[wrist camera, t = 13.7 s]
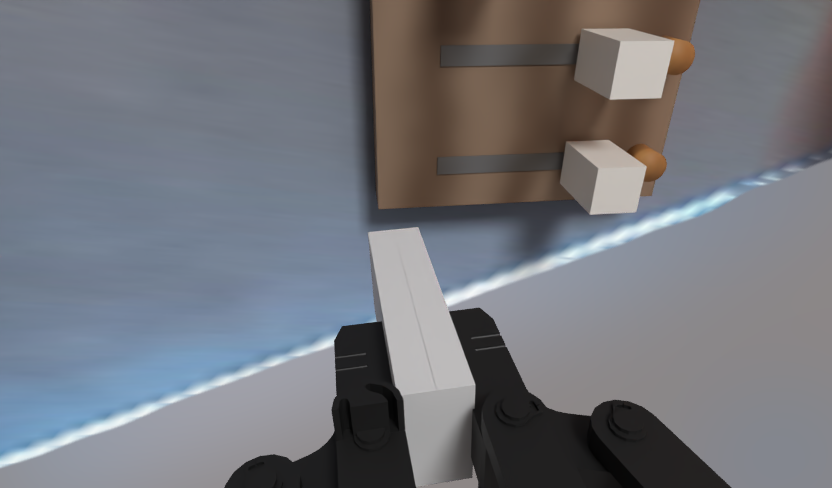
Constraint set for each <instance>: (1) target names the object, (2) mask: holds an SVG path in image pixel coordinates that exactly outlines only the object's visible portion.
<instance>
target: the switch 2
mask: <svg viewBox="0 0 832 488" xmlns="http://www.w3.org/2000/svg"><path fill="white" fill-rule="evenodd" d="M646 168H647V166H645V165H644V164H643V163H641V162H640V161H638V160H637V159H635V158H634V157H633V156H631V155H630V154H628V153H627V152H625V151H624V150H622V149H621V148H620V147H618V146H617V145H615V144H614V143H612V142H611V141H610V140H593V141H566V146H565V152H564V159H563V165H562V172H561V178H560V184H561V185H562V186H563V187H564V188H565V189H566V190H567V191H568V192H569V193H570V194H571V196H572V197H573V198H574V199H575V200H576V201H577V202H578V203H579V204H580V205H581V206H582V207H583V208H584V209H585V210H586V211H587V212H588V213H589V214H590V215H593V214H612V213H631V212H636V210H637V206H638V201H639V197H640V193H641V189H642V185H643V180H644V176H645V172H646Z"/></svg>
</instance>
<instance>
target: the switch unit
mask: <svg viewBox="0 0 832 488" xmlns="http://www.w3.org/2000/svg"><path fill="white" fill-rule="evenodd" d="M699 3H700V0H370V26H371V57H372V88H373V119H374V150H375V180H376V196H377V202H378V208H379V209H393V208H413V207H433V206H454V205H474V204H494V203H515V202H535V201H555V200H575V199H574V198H573V197H572V196H571V194H570V193H569V192H568V191H567V190H566V189H565V188H564V187H563V186H562V185H561V184H560V178H561V172H562V165H563V159H564V152H565V146H566V141H593V140H610V141H611V142H612V143H614V144H615V145H617V146H618V147H620V148H621V149H622V150H624V151H625V152H627V153H628V154H630V155H631V156H633V157H634V158H635V159H637V160H638V161H640V162H641V163H643V164H644V165H645V166H647V168H646V172H645V176H644V180H643V185H642V189H641V193H640V196H652V192H653V188H654V184H655V180H657V179H658V178H659V177H661V176H662V174H663V173H664V171H665V169H666V165H667V163H666V159H665V157H664V156H663V155H662V152H663V148H664V144H665V140H666V136H667V132H668V128H669V124H670V120H671V116H672V112H673V108H674V104H675V100H676V96H677V92H678V88H679V84H680V80H681V76H682V73H683V72H685V71H686V70H687V69H688V68H689V67H690V66H691V64H692V62H693V60H694V56H695V50H694V47H693V45H692V44H691V43H690V40H691V36H692V32H693V27H694V23H695V19H696V15H697V11H698V7H699ZM617 28H629V29H633V30H637V31H640V32H644V33H648V34H652V35H655V36H659V37H663V38H667V39H670V40H674V46H673V50H672V54H671V58H670V63H669V67H668V71H667V75H666V80H665V84H664V88H663V92H662V97H661V98H652V99H614V100H610V99H608V98H606V97H604V96H602V95H600V94H599V93H597V92H595V91H593V90H591V89H589V88H588V87H586V86H584V85H582V84H580V83H578V82H577V81H575V80H574V76H575V70H576V63H577V56H578V50H579V43H580V37H581V30H582V29H617Z"/></svg>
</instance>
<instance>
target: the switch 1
mask: <svg viewBox="0 0 832 488" xmlns="http://www.w3.org/2000/svg"><path fill="white" fill-rule="evenodd" d="M673 46H674V40H670V39H667V38H663V37H659V36H655V35H652V34H648V33H644V32H640V31H637V30H633V29H629V28H617V29H582V30H581V37H580V43H579V50H578V56H577V63H576V70H575V76H574V80H575V81H577V82H578V83H580V84H582V85H584V86H586V87H588V88H589V89H591V90H593V91H595V92H597V93H599V94H600V95H602V96H604V97H606V98H608V99H610V100H614V99H652V98H661V97H662V92H663V88H664V84H665V80H666V75H667V71H668V67H669V63H670V58H671V54H672V50H673Z"/></svg>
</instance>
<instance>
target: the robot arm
mask: <svg viewBox="0 0 832 488" xmlns="http://www.w3.org/2000/svg"><path fill="white" fill-rule="evenodd" d="M368 238H369V249H370V261H371V272H372V284H373V296H374V307H375V313H376V320H377V322H372V323H364V324H356V325H349V326H342V327H341V329H340V331H339V333H338V335H337V337H336V339H335V340H334V346H335V368H336V391H337V396H336V397H335V399H334V402H333V406H332V416H333V422H334V428H335V431H334V434H333V436H332V437H331V438H330V439H329V441H328V442H327V443H326V444H325V445H324V446H322V447H321V448H320V449H319V450H317V451H316V452H314V453H312V454H310V455H308V456H306V457H304V458H301V459H299V460H297V461H295V462H292V461H290V460H289V459H288V458H287V457H283V456H278V455H267V456H259V457H257V458H255V459H252V460H250V461H248V462H246V463H244V464H243V465H242V466H241V467H240V468H238V469H237V470H236V471H235V472H234V473H233V474H232V476H231V477H230V479H229V480H228V482H227V483H226V485H225V488H416V487H419V486H425V485H431V484H437V483H443V482H449V481H454V480H461V479H466V478H472V469H473V468H472V467H473V465H474V469H475V472H476V475H477V479H478V488H731V487H730V486H729V485H728V484H727V483H726V482H725V481H724V480H723V479H721V478H720V477H719V476H718V475H717V474H716V473H715V472H714V471H713V470H712V469H711V468H710V467H709V466H708V465H707V464H706V463H705V462H703V461H702V460H701V459H700V458H699V457H698V456H697V455H696V454H695V453H694V452H693V451H692V450H691V449H690V448H689V447H687V446H686V445H685V444H684V443H683V442H682V441H681V440H680V439H679V438H678V437H677V436H676V435H675V434H673V432H672V431H670V430H669V429H668V428H667V427H666V426H665V425H664V424H663V423H662V422H661V421H660V420H659V419H658V418H657V417H656V416H654V415H653V414H652V413H650V412H649V411H648V410H646V409H645V408H643V407H642V406H639V405H637V404H634V403H631V402H628V401H621V400H612V401H607V402H603V403H601V404H600V405H598V406H597V407H596V408H595V409H594V411H593V413H592V415H591V416H584V415H576V414H568V413H562V412H558V411H554V410H552V409H549V408H547V407H546V406H545V405H544V404H543V403H542V401H541V400H540V399H539V398H537V397H536V396H534V395H532V394H531V393H529V392H528V390H527V389H526V387H525V385H524V383H523V381H522V378H521V376H520V374H519V372H518V370H517V368H516V366H515V364H514V362H513V360H512V358H511V355H510V353H509V351H508V349H507V347H505V343H504V341H503V339H502V336H500V332H499V330H498V328H497V326H496V324H495V322H494V320H493V318H491V317H490V316H489V315H488V314H487V313H485V312H484V311H483V310H482V309H480V308H474V309H465V310H457V311H448V308H447V305H446V302H445V300H444V297H443V294H442V291H441V289H440V286H439V283H438V280H437V278H436V275H435V272H434V269H433V267H432V264H431V261H430V258H429V256H428V253H427V250H426V247H425V245H424V242H423V239H422V236H421V234H420V231H419V228H418V227H414V228H404V229H395V230H385V231H376V232H368Z"/></svg>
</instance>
